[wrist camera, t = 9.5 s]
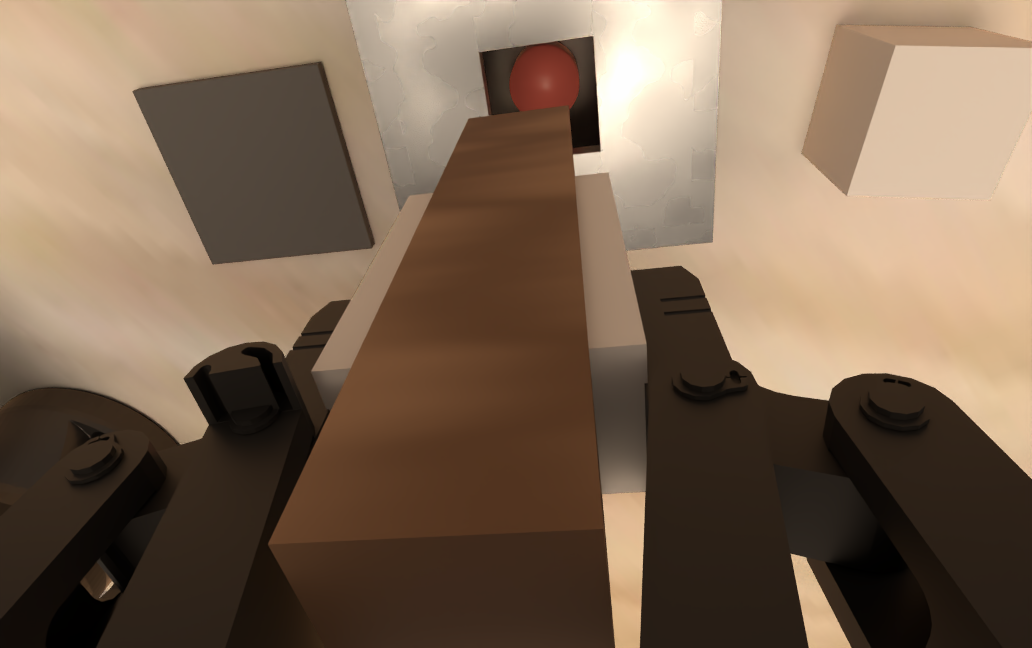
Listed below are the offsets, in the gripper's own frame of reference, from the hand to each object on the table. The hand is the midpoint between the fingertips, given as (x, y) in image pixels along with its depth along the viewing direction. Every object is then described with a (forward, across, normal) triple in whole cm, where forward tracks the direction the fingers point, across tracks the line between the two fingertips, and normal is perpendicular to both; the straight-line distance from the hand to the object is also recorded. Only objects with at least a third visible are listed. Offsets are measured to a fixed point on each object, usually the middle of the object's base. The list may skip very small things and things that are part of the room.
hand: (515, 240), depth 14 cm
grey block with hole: (+19, 0, 0) cm, 19 cm away
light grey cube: (+19, +16, -3) cm, 25 cm away
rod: (+6, 0, 0) cm, 6 cm away
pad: (+19, -16, -3) cm, 25 cm away
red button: (+18, 0, 0) cm, 18 cm away
